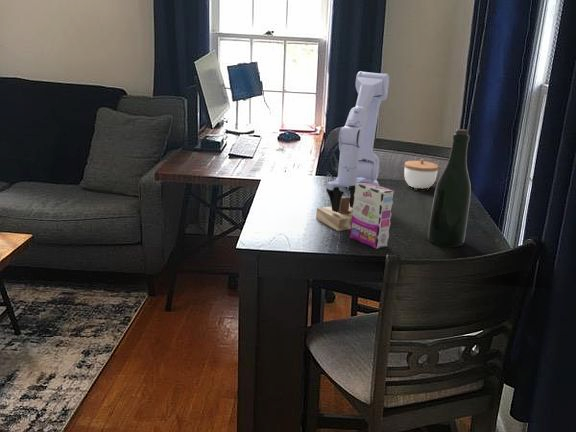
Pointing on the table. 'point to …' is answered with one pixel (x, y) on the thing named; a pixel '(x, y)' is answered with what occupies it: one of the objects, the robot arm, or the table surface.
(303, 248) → the table surface
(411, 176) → the lidded bowl
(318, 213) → the holder block
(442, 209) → the beer bottle
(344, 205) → the peg
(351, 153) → the robot arm
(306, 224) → the table surface
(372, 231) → the candy bar box
